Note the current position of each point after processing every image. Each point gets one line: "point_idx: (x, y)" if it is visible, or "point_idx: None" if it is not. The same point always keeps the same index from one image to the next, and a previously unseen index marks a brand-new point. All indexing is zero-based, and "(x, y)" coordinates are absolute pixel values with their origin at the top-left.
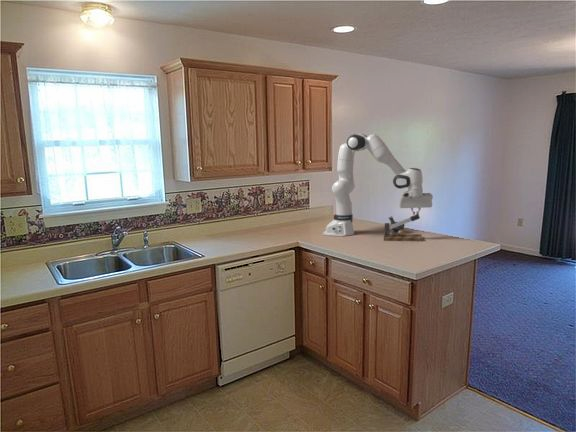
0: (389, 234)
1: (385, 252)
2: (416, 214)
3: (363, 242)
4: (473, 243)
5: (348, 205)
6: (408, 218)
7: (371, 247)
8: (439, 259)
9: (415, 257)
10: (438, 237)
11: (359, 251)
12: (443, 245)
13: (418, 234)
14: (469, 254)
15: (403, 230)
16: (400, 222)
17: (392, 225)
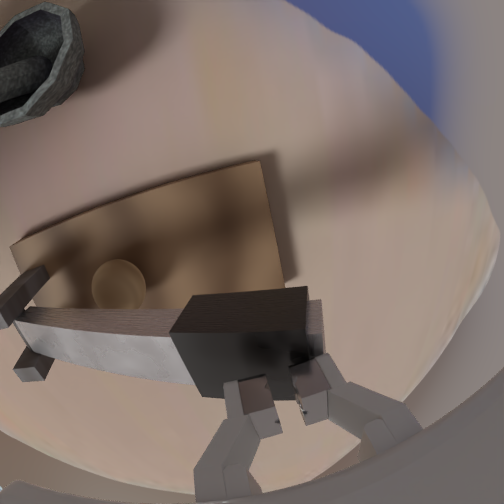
0: (44, 268)
1: (180, 461)
2: (282, 338)
3: (28, 382)
4: (469, 240)
5: None
6: (160, 358)
7: (103, 434)
8: (339, 446)
9: (279, 461)
10: (364, 140)
11: (106, 462)
12: (378, 323)
13: (239, 176)
14: (418, 380)
15: (133, 298)
16: (99, 367)
17: (52, 355)
